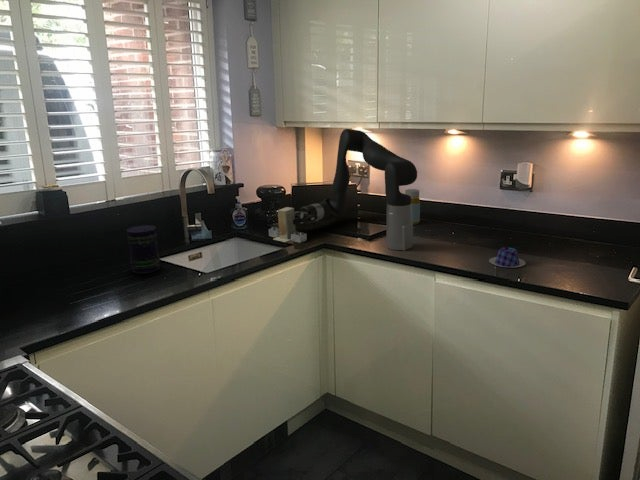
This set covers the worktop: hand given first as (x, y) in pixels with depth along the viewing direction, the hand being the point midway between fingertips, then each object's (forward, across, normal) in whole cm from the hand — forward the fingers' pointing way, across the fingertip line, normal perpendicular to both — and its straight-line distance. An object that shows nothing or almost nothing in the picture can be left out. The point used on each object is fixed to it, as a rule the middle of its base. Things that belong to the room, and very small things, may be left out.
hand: (286, 220), depth 227 cm
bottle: (-50, +30, +8) cm, 59 cm away
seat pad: (0, 0, +8) cm, 8 cm away
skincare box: (0, 0, +7) cm, 7 cm away
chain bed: (0, 0, +8) cm, 8 cm away
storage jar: (+58, -15, +8) cm, 60 cm away
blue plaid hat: (-20, +86, +8) cm, 89 cm away
